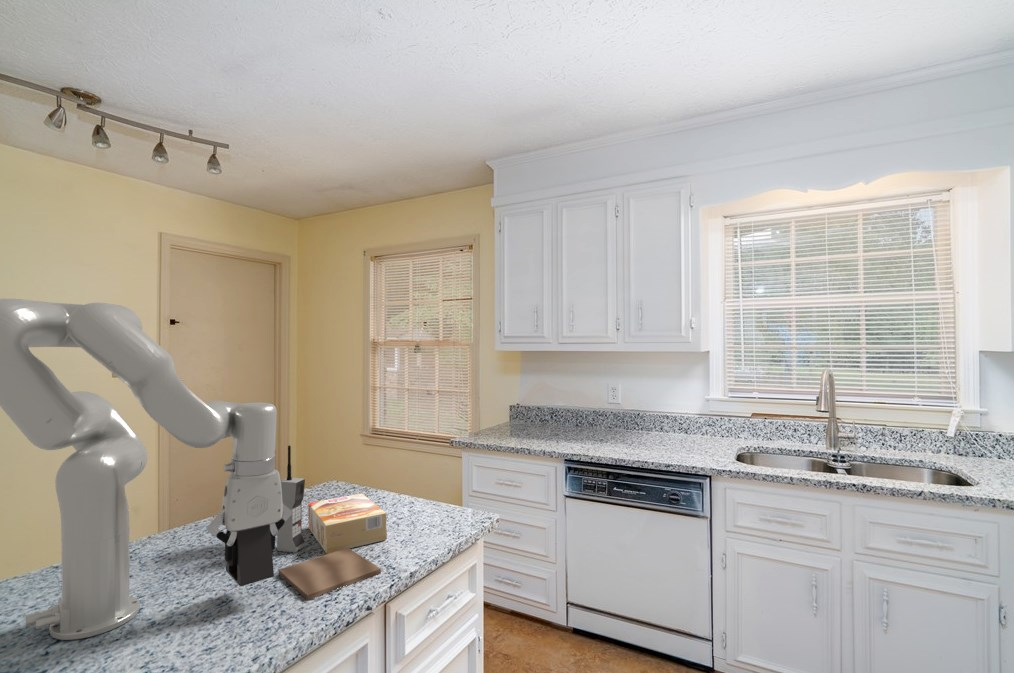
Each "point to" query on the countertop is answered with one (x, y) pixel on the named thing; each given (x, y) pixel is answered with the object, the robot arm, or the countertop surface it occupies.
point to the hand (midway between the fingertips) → (250, 558)
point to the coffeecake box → (346, 522)
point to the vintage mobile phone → (292, 498)
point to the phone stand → (252, 556)
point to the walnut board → (328, 573)
